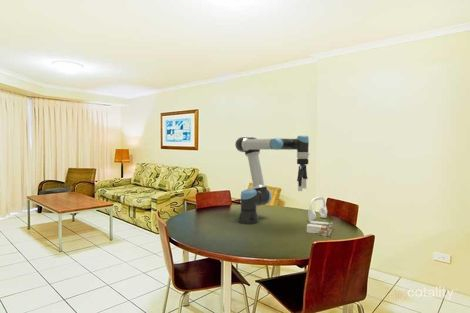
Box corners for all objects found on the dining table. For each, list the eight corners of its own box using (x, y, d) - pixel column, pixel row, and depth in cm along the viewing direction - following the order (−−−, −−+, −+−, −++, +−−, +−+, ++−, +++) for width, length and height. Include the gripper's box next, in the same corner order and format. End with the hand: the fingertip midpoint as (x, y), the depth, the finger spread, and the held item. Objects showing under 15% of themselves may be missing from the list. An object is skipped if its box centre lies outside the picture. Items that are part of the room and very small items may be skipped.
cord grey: (309, 228, 197) (309, 222, 197) (311, 227, 202) (311, 220, 201) (328, 231, 192) (328, 224, 192) (328, 229, 196) (329, 222, 196)
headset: (313, 223, 212) (313, 199, 212) (305, 221, 217) (305, 197, 217) (328, 219, 225) (329, 196, 224) (320, 217, 230) (321, 195, 230)
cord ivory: (306, 232, 189) (306, 225, 189) (307, 230, 193) (308, 223, 193) (325, 234, 184) (325, 227, 184) (326, 232, 188) (326, 226, 188)
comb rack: (316, 235, 183) (316, 227, 183) (321, 226, 202) (321, 220, 202) (329, 236, 180) (329, 229, 180) (333, 228, 199) (333, 221, 198)
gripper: (304, 159, 183) (304, 192, 183) (311, 158, 205) (311, 187, 206) (292, 158, 186) (292, 191, 187) (301, 157, 209) (300, 187, 209)
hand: (302, 189), depth 196 cm, fingers open, 13 cm apart
